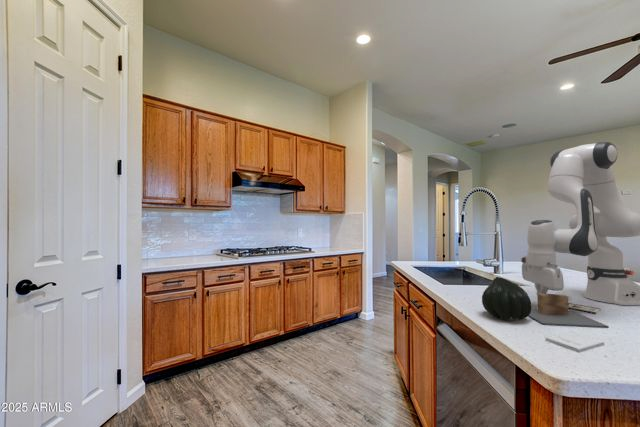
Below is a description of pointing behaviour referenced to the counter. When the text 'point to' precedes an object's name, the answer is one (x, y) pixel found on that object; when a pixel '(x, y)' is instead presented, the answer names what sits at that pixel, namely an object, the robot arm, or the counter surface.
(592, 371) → the counter surface
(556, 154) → the robot arm
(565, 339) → the external hard drive
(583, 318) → the mat
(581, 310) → the chocolate bar
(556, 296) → the box
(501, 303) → the squash
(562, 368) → the counter surface
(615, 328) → the counter surface
